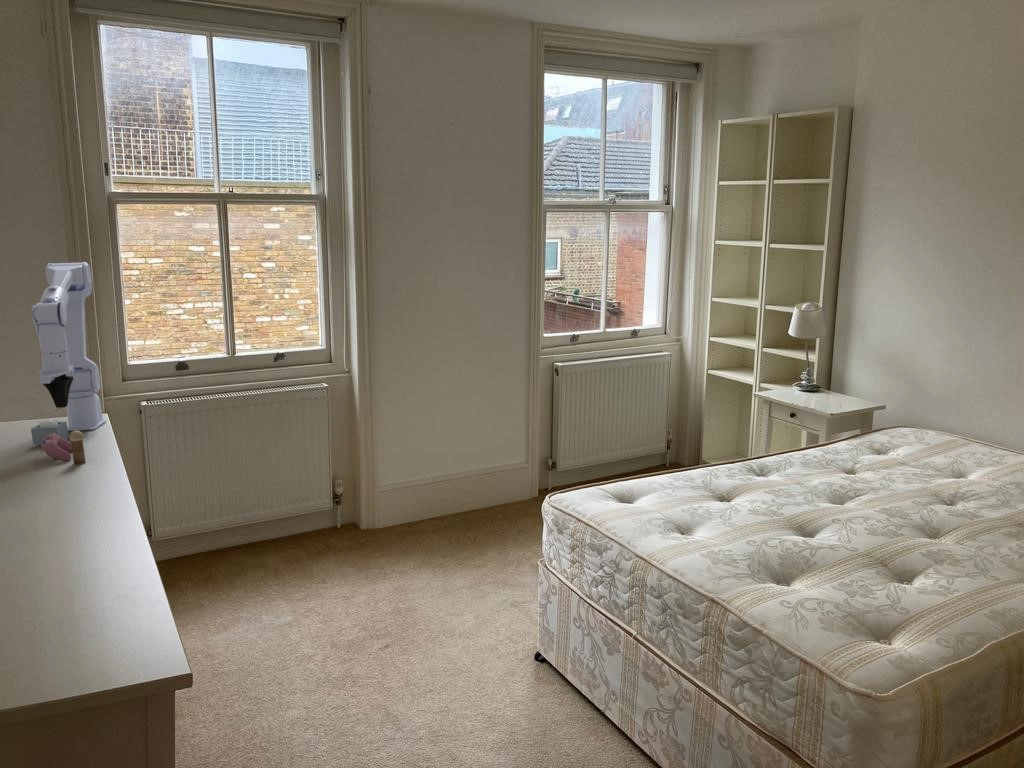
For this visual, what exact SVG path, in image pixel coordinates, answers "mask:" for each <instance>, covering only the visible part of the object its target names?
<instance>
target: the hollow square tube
mask: <svg viewBox="0 0 1024 768" xmlns="http://www.w3.org/2000/svg"><path fill="white" fill-rule="evenodd" d="M67 427H68V421H58V425H57V426H55V427H40V424H39V423H38V424H36V425H35V426H32V427H31V428H30V431H31V438H32V446H33V445H41V444H42V443H43V438H44V437H45V436H46V435H48V434H54V433H55V434H56V435H59V436H60V437H62V438H63V439H65V440H67V441H68V440H70V438H69V431H68V429H67Z"/></svg>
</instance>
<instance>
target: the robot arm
mask: <svg viewBox="0 0 1024 768" xmlns="http://www.w3.org/2000/svg"><path fill="white" fill-rule="evenodd" d="M45 277H46V281H47V284H48V285H49V286H48V287H46V288H45V289H44V291H43V293H42V295H41V297H40V300H39V302H36V303H35V305H32V308H31V319H32V321H33V325H34V327H35V334H36V335H37V336H38V340H39V349H40V355H41V362H42V364H41V365H42V369H40V370H37V371H38V374H39V382H40V385H41V384H42V385H43V386H44V387H45V388H46V389H47V391H48V393H49V394H50V396H51V399H52V401H53V403H54V406H55V407H56V409H59V408H62V409H63V408H66V414H67V415H66V416H67V429H68V432H70V431H71V432H73V431H93V430H96V429H97V428H99V427H100V426H102V425H103V424H105V423H106V422H107V419H103V411H102V404H101V398H100V397H99V395H98V394H97V393H99V391H100V390H101V375H100V370H99V369H100V368H99V366H98V364H97V363H95V362H94V361H92V360H91V359H89V358H88V357H87V341H86V339H87V337H86V316H85V315H86V314H85V304H86V298H87V297H89V296H90V295H92V290H93V286H92V272H91V267H90V264H88V262H87V261H83V262H60V263H59V262H57V263H53V262H48V263H47V265H46V266H45Z"/></svg>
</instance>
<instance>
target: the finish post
mask: <svg viewBox="0 0 1024 768" xmlns="http://www.w3.org/2000/svg"><path fill="white" fill-rule="evenodd" d="M68 437H69V441H70V442H71V446H72V452H71V453H72V459H73V461H72V462H73V465H82V463H83V464H85V463H86V461H87V460H86V455H85V447H84V434H83V433H82V431H81V430H77V431H71V432H70V433H69V435H68Z"/></svg>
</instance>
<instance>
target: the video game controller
mask: <svg viewBox="0 0 1024 768" xmlns="http://www.w3.org/2000/svg"><path fill="white" fill-rule="evenodd" d="M41 449H42V450H43V451H44V453H45V454H46V455H48V456H49V457H51V459H53V460H55V461H56V459H57V460H59V461H61V462H69V461H71V460H72V455H71V453H72V446H71V441H70V440H68V439H67V440H65V439H63V438H62V437H60V436H59V435H56V434H55V433H54V434H48V435H46V436H45V437H44V438H43V443H42V444H41Z"/></svg>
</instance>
